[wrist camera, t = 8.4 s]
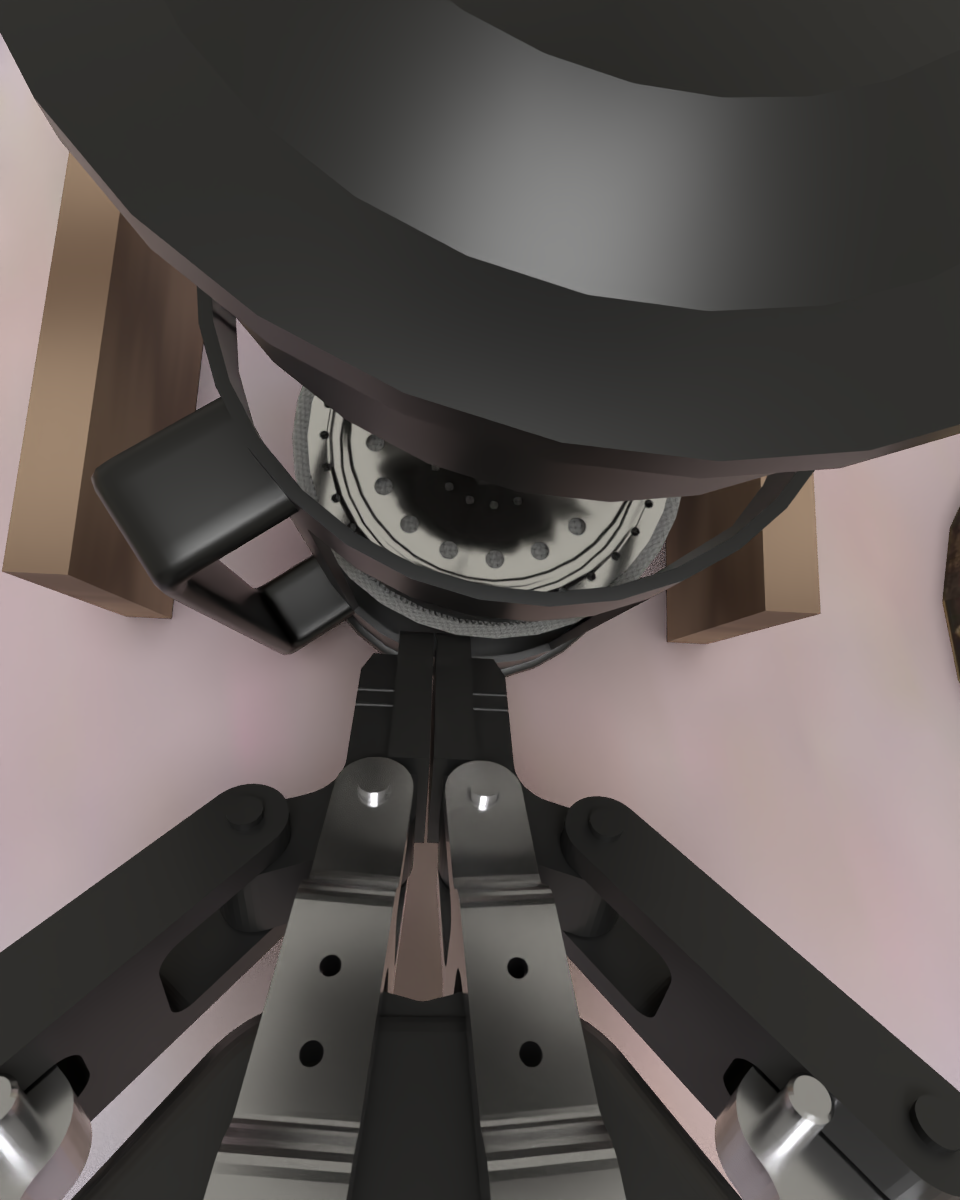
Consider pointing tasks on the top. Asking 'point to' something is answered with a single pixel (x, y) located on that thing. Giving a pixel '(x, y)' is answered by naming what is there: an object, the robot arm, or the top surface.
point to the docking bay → (169, 392)
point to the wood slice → (953, 590)
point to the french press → (515, 283)
